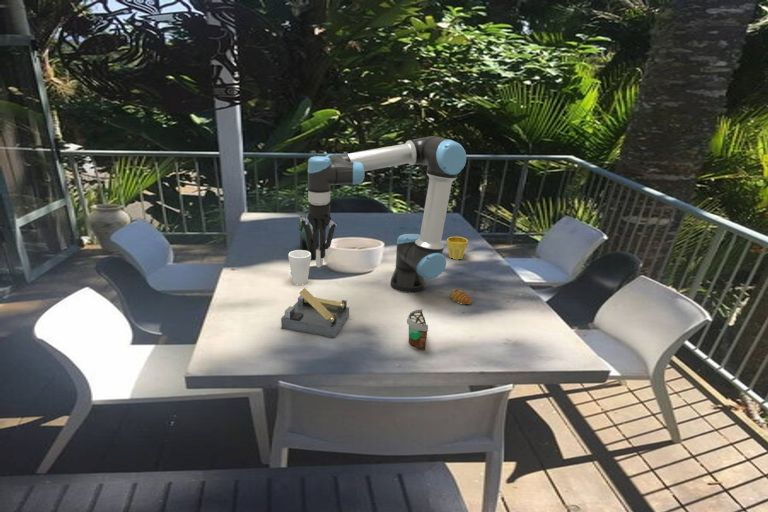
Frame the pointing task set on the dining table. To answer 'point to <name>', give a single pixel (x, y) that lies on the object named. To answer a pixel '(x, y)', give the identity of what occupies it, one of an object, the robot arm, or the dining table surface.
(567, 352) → the dining table surface
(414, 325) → the iced coffee cup
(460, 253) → the plant pot
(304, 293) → the latch bar front
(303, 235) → the ceramic cat
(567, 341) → the dining table surface
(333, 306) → the bar
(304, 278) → the foam cup
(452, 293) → the pastry
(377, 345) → the dining table surface
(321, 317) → the base
